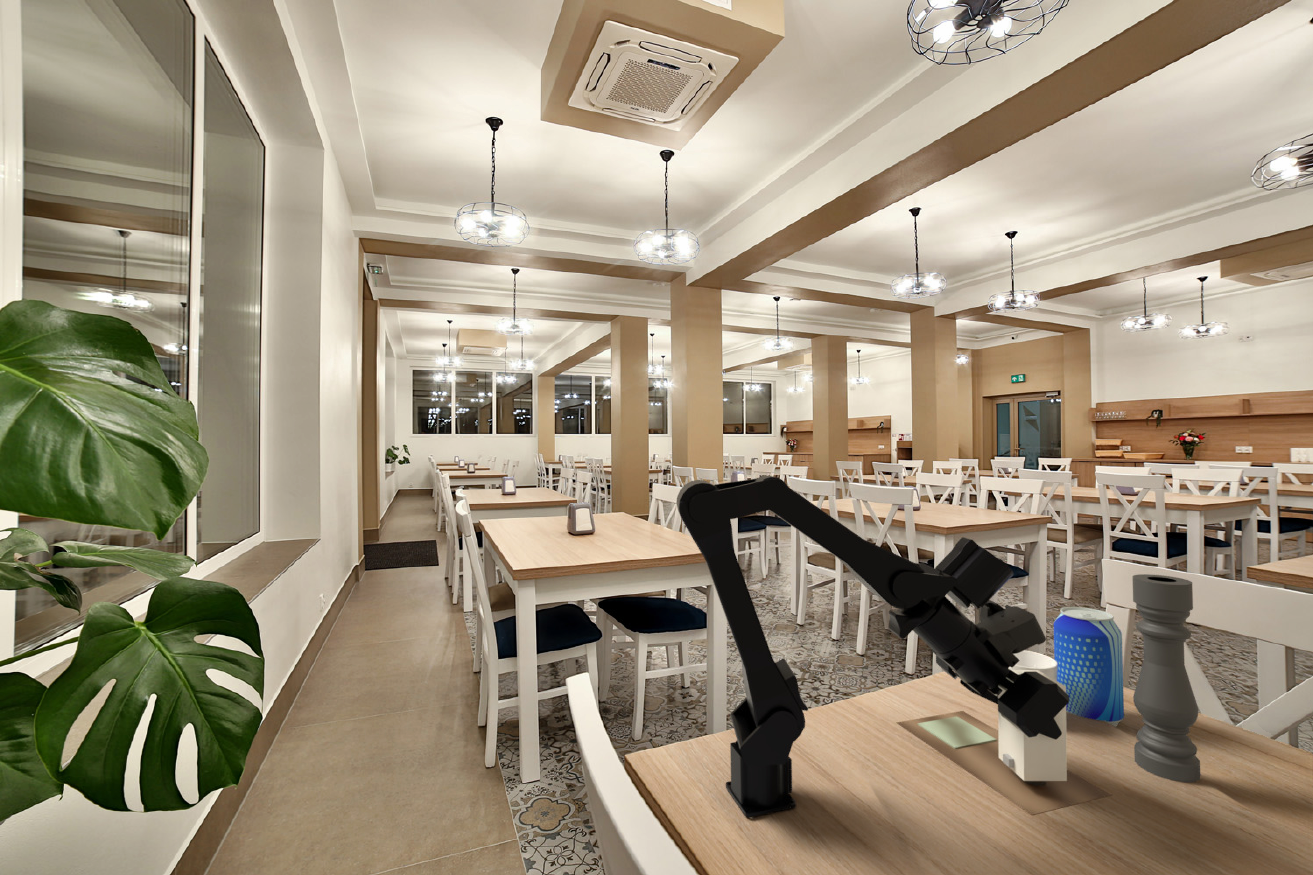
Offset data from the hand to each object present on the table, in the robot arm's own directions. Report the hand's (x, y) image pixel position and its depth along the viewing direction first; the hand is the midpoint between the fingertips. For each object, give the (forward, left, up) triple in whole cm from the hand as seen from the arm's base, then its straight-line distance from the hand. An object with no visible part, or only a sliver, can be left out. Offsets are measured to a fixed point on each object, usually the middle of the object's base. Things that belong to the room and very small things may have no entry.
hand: (1043, 724), depth 70 cm
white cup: (+13, +13, -8) cm, 20 cm away
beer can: (+24, +12, -8) cm, 28 cm away
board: (-1, +6, -8) cm, 10 cm away
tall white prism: (-1, 0, -5) cm, 6 cm away
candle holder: (+17, -3, -8) cm, 19 cm away
